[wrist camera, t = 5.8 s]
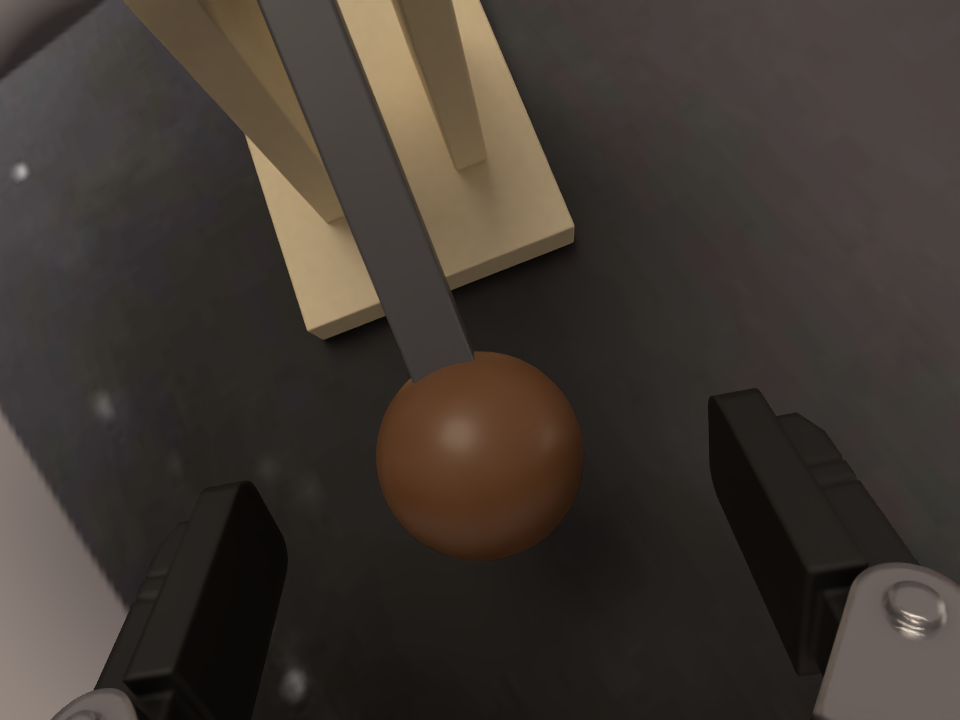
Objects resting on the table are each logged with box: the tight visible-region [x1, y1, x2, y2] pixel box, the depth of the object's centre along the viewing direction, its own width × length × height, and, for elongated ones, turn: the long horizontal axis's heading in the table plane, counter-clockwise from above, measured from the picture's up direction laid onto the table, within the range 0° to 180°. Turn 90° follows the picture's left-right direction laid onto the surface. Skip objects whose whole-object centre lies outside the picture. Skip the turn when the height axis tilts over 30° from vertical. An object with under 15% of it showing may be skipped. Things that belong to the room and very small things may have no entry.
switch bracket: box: [123, 0, 574, 340], centre depth 15 cm, size 10×8×13 cm
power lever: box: [257, 0, 584, 561], centre depth 11 cm, size 14×4×4 cm, turn 20°
